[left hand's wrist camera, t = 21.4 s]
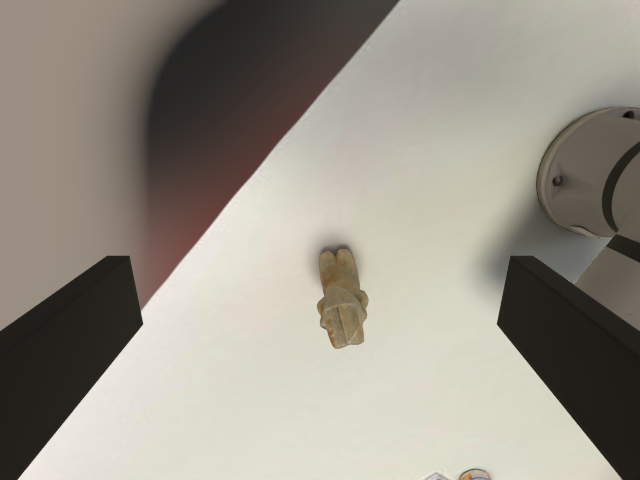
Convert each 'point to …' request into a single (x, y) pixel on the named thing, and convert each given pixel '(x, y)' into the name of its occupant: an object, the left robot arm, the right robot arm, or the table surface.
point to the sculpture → (341, 299)
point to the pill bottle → (475, 475)
